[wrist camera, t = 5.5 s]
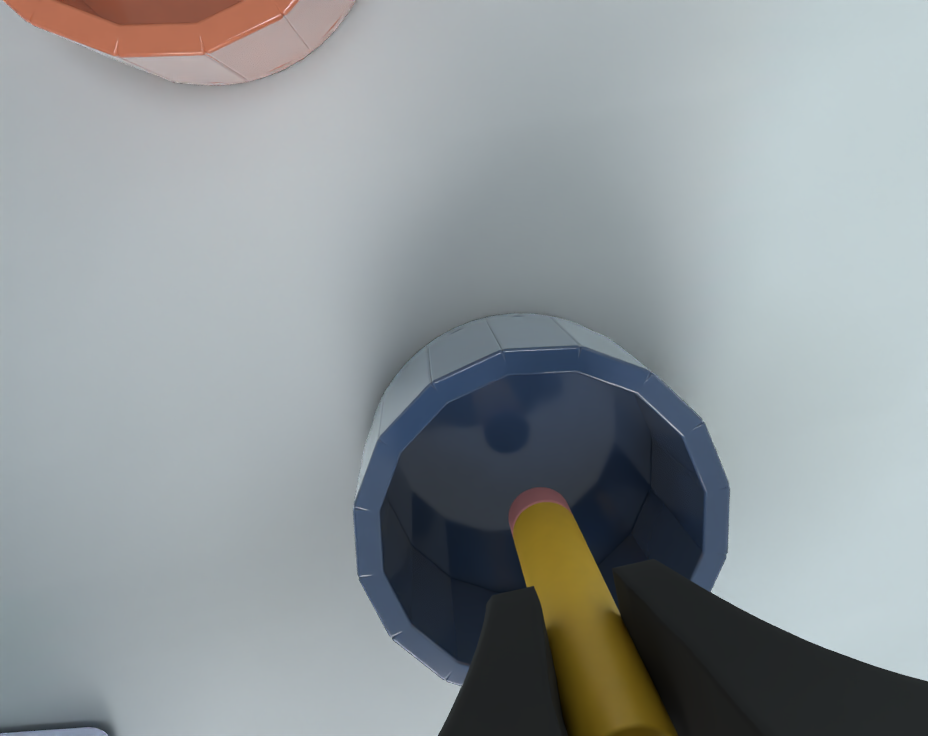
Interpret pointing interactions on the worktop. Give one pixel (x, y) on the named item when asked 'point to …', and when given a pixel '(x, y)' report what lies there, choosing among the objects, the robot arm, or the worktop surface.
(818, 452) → the worktop surface
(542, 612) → the robot arm
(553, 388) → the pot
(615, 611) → the pencil
